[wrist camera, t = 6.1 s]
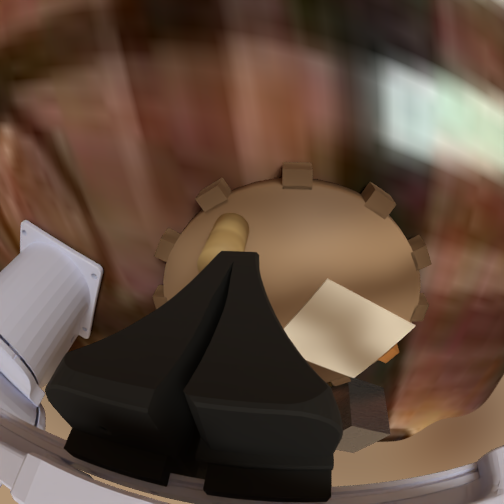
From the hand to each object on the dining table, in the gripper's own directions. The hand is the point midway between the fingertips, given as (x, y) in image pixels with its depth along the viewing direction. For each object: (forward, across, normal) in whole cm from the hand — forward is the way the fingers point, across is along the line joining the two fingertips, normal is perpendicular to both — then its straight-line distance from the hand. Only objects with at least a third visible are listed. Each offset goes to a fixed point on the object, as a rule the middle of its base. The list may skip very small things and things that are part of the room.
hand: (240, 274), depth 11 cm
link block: (+7, -8, +18) cm, 21 cm away
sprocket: (+7, -2, +6) cm, 9 cm away
